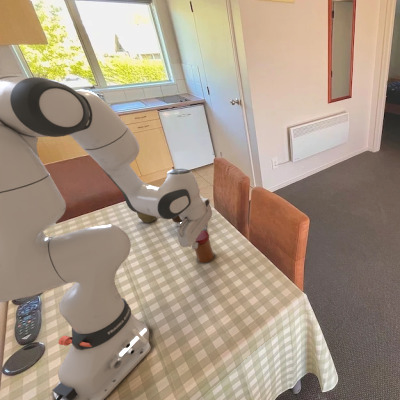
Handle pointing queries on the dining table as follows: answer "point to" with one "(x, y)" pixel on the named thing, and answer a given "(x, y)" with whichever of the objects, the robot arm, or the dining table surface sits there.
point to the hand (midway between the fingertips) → (201, 240)
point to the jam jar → (204, 252)
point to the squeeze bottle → (146, 217)
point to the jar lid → (202, 237)
